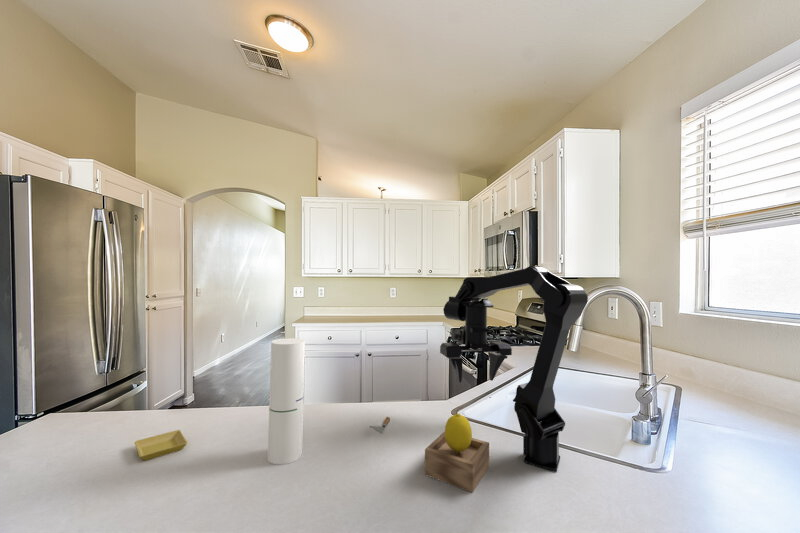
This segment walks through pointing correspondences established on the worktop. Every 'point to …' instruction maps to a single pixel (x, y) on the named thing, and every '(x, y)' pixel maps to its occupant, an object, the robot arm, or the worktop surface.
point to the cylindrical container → (286, 400)
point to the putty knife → (381, 429)
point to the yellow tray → (160, 445)
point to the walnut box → (457, 463)
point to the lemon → (458, 433)
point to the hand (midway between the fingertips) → (475, 381)
